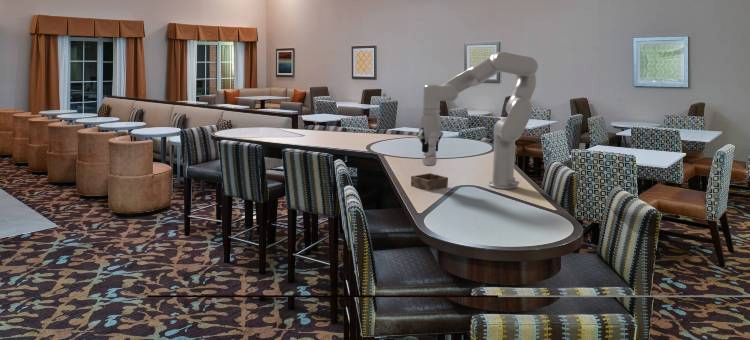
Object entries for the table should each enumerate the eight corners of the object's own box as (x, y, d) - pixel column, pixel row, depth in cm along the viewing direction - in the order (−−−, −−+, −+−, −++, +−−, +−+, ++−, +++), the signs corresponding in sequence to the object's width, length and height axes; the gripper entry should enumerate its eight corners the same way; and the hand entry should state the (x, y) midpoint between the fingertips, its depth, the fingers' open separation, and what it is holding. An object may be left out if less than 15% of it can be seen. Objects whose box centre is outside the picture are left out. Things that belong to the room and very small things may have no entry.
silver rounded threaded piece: (423, 164, 268) (424, 121, 264) (437, 165, 266) (439, 122, 262) (420, 167, 262) (421, 123, 258) (435, 167, 260) (436, 124, 256)
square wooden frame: (447, 187, 265) (447, 177, 264) (428, 190, 258) (428, 180, 257) (429, 182, 275) (430, 173, 274) (410, 185, 267) (411, 176, 266)
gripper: (439, 110, 267) (437, 148, 271) (411, 112, 257) (410, 152, 261) (450, 112, 262) (449, 151, 265) (422, 114, 251) (421, 154, 255)
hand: (429, 151), depth 263 cm, fingers closed on silver rounded threaded piece, 5 cm apart
